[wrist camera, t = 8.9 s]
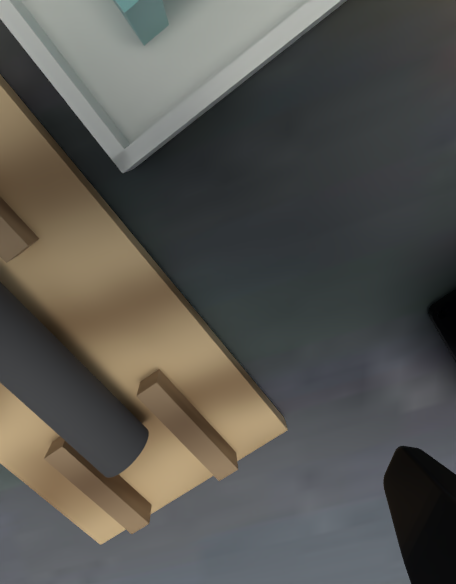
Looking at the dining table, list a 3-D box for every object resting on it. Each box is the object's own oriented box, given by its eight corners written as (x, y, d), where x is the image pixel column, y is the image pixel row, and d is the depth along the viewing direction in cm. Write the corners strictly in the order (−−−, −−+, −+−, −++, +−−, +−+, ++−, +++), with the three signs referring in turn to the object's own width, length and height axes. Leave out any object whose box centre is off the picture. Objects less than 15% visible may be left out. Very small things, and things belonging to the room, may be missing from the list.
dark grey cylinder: (151, 417, 21) (144, 457, 18) (109, 445, 21) (96, 488, 19) (-33, 230, 17) (-75, 246, 14) (-79, 268, 17) (-129, 291, 15)
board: (284, 417, 22) (292, 445, 20) (104, 529, 25) (95, 565, 22) (-27, 42, 16) (-61, 27, 14) (-241, 240, 18) (-299, 254, 16)
